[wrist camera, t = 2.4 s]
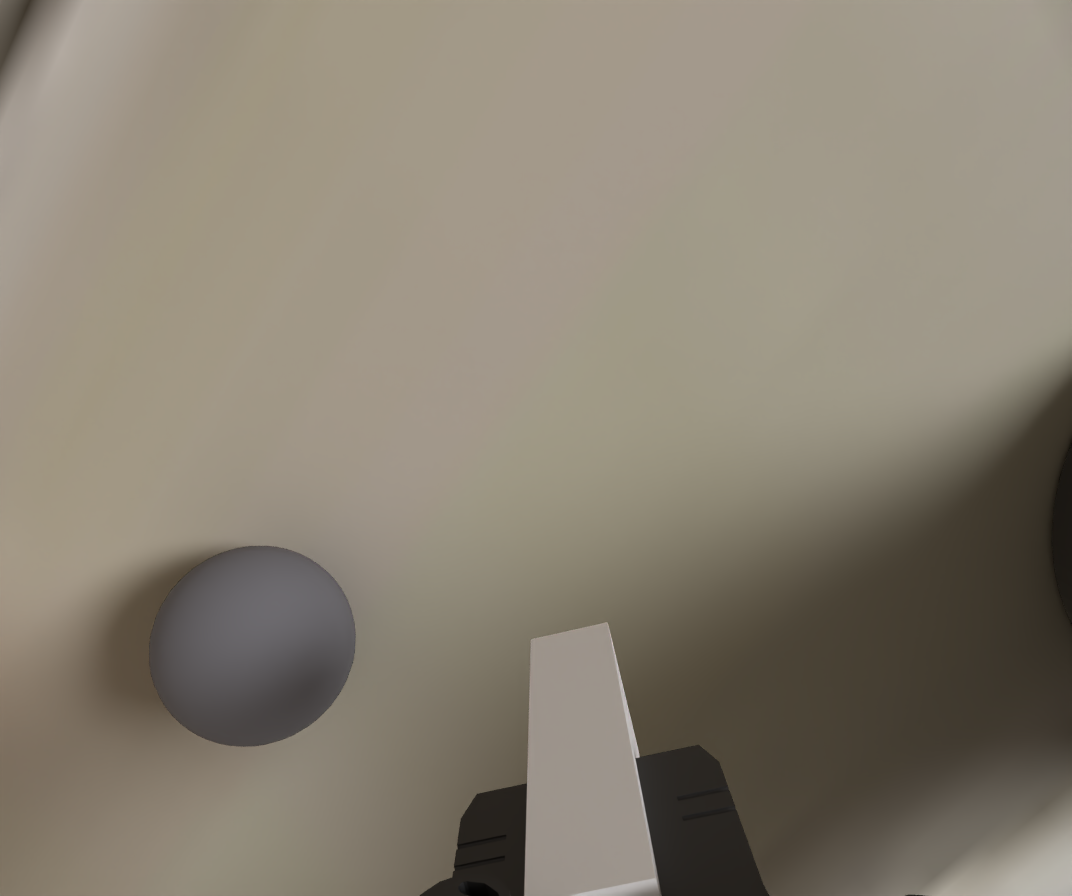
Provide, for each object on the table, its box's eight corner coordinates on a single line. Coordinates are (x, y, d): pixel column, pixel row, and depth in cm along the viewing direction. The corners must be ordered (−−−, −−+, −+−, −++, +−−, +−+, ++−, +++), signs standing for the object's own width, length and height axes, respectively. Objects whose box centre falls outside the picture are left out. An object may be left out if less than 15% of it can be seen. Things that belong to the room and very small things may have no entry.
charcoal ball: (345, 503, 25) (289, 567, 20) (393, 663, 26) (354, 766, 21) (176, 542, 25) (76, 616, 20) (231, 699, 26) (151, 808, 21)
